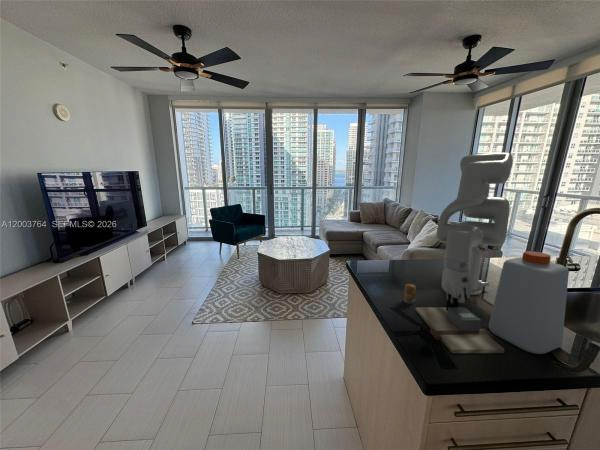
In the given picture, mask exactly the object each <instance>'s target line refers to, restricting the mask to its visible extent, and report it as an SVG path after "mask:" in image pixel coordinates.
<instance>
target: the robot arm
mask: <svg viewBox="0 0 600 450" xmlns="http://www.w3.org/2000/svg"><path fill="white" fill-rule="evenodd" d="M513 163H514V159H513V155H512V153H510V152H491V153H490V152H489V153H477V154H476V153H475V154H469V155H464V156H463V157H462V158H461V159H460V162H459V167H460V172H461V175H460V176H461V177H460V181H459V186H458V190H457V196H456V199H454V200H453V201H452V202H450V203H449V204H448V205H447V206H446V207H445V208H444V209H443V210H442V212H441V214H440V215H439V220H438V224H437V229H436V238H437V239H436V240H437V241H439V242H440V243H443V244H446V245H445V254H444V264H443V271H442V274H441V275H442V276H441V288H442V290H443V291H444V292H445V295H446V297H445V298H446V306H445V307H446V310H447V311H448V308H450V307H459V304H465V303H466V302H465V299H470V298H471V296H476V295H480V294H482V293H483V292H482V288H483V287H489V286H490V283H489V282H488V281H482V280H480V273H481V272H480V271H481V267H482V266H481V265H482V257H483V254H482V251H481V249H480V247H478V245H484V246H492V247H500V246H503V245H504V244H505V243H506V239H507V234H508V226H509V218H510V211H511V210H510V209H511V208H510V201H509V199H507V198H505V197H502V196H501V197H500V196H489V195H490V193H489V192H490V186H491V184H494V185H497V184H499V185H501V184H505V183H506V182H508V180H509V178H510V175H511V171H512V167H513ZM460 211H462V213H463V214H462V215H463V216H465V217H467V218H470V219H478V220H479V219H481V220H491V221H493V222H485V221H475V220H474V221H473V220H465V221H461V222H459V223H458V224H456V223H455V224H454V223H448V222H449V220H450V218H451V217H452V216H453V215H455V214H456V213H458V212H460Z"/></svg>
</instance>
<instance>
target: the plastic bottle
mask: <svg viewBox="0 0 600 450" xmlns="http://www.w3.org/2000/svg"><path fill="white" fill-rule="evenodd" d="M569 273H570V270H569V269H568V268H567V266H564V265H562V264H560V263H555V262H551V255H549V254H547V253H545V252H539V251H531V250H529V251H527V250H526V251H524V252H523V253H522V256H521V257H520V256H519V257H515V258H511V259H506V260H504V261H503V265H502V269H501V272H500V276H499V280H498V285H497V289H496V294H495V297H494V302H493V306H492V309H491V315H490V319H489V322H488V329H489V331H490V333H491V334H492V333H493V335H495V336H496V337H499V338H501V339H503V340H504V341H506V342H508V343H509V344H512V345H514V346H515V347H518V348H519V349H521V350H523V351H525V352H527V353H531V354H534V355H543V354H547V353H549V352H552V351H554V350H556V349H558V348H560V347H562V346H563V340H564V330H565V329H564V328H565V327H564V326H565V319H566V318H565V317H566V305H567V296H568V295H567V292H568V284H569V276H570V275H569Z"/></svg>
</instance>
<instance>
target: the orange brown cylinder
mask: <svg viewBox="0 0 600 450" xmlns="http://www.w3.org/2000/svg"><path fill="white" fill-rule="evenodd" d="M416 289H417V287H416V285H415V284H412V283H406V284H405V285H404V295H403V296H404V297H403V298H404V299H403V301H404V303H406V304H409V305H413V304H415V303H416V302H415V300H416Z"/></svg>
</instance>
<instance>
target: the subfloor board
mask: <svg viewBox="0 0 600 450" xmlns="http://www.w3.org/2000/svg"><path fill="white" fill-rule="evenodd" d="M415 311H416V313H418V315H419V317H421V319H423V320H424V322H425V323H426V324H427V325H428V326H429V328H430V330H429V333H430V334H431V336H433V338H434V339H435V340H436V341H441V342H442V343H443V344H444V345H445V346H446V347H447V349H448V350H449V351H450V352H451V353H452V354H504V353H505V348H504V347H503V346H501V345H500V344H499V343H498V342H497V341H495V340H494V337H495V336H494V334H492V332H489V331H488V330H487V329H486V328H480V331H460V330H459V329H458V328H457V327H456V326H455V325H454V324H453V323H452V322H451V321H450V320H449V319H448V318H447V312H448V311H447V310H446V306H445V307H444V306H443V307H441V306H436V307H431V306H428V307H427V306H426V307H424V306H422V307H418V306H417V307H415Z"/></svg>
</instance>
